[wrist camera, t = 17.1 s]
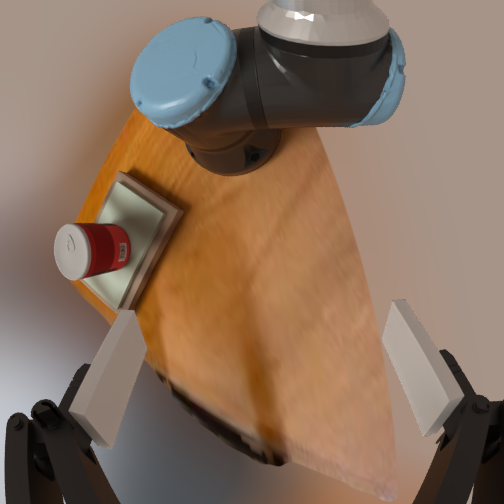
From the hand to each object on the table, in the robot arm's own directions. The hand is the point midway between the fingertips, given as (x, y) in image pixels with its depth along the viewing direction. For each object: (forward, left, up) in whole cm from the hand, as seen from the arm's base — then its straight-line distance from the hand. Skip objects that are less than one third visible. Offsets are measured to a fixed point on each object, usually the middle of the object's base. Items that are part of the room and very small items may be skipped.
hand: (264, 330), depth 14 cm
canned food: (+2, -29, -27) cm, 40 cm away
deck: (+2, -29, -30) cm, 42 cm away
